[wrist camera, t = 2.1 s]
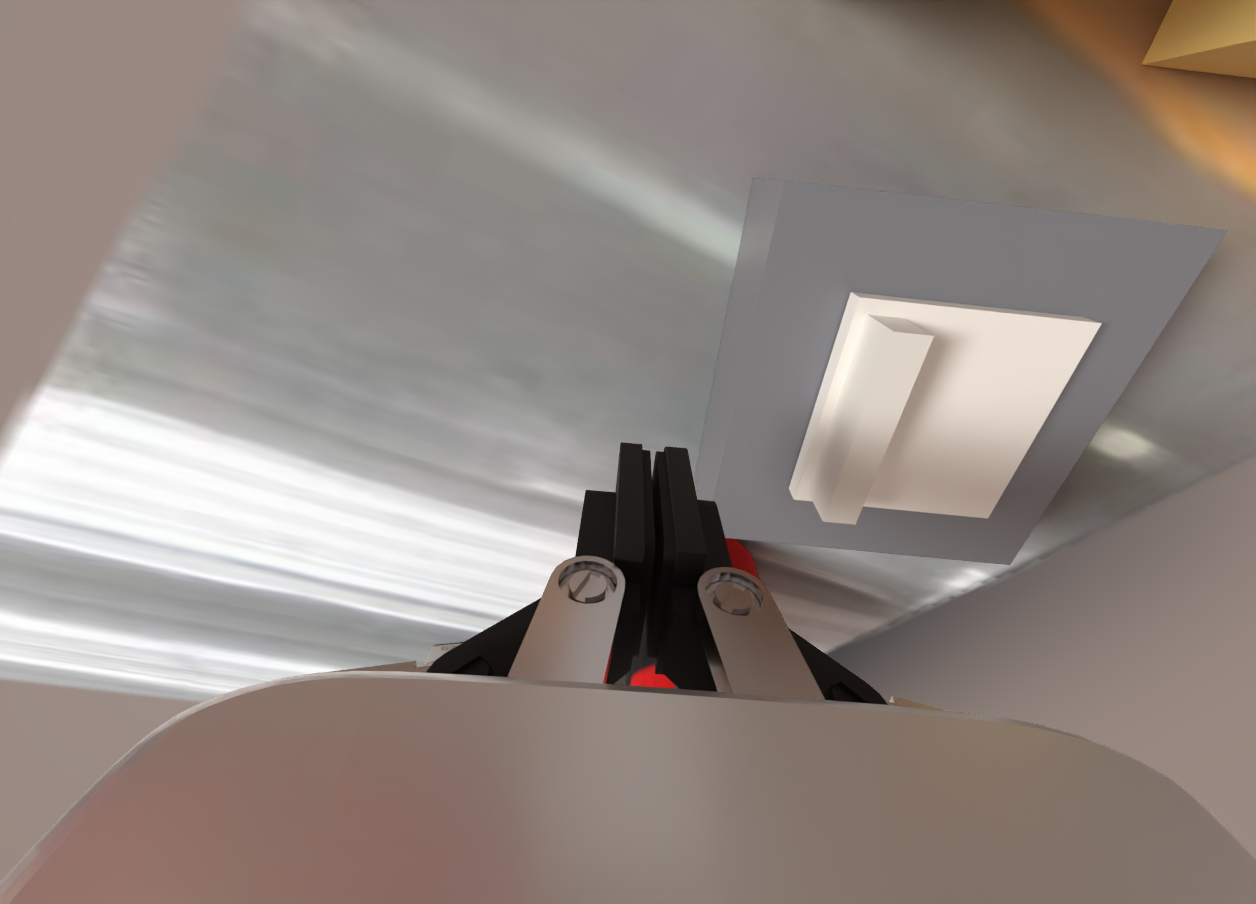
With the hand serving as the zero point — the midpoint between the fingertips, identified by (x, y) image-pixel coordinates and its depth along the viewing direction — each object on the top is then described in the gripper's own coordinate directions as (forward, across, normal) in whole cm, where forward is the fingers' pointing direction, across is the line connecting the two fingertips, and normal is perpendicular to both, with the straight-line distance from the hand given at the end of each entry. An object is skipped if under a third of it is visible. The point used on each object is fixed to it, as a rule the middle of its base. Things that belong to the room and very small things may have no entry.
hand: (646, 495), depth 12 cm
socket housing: (+12, -11, 0) cm, 16 cm away
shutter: (+7, -10, 0) cm, 12 cm away
